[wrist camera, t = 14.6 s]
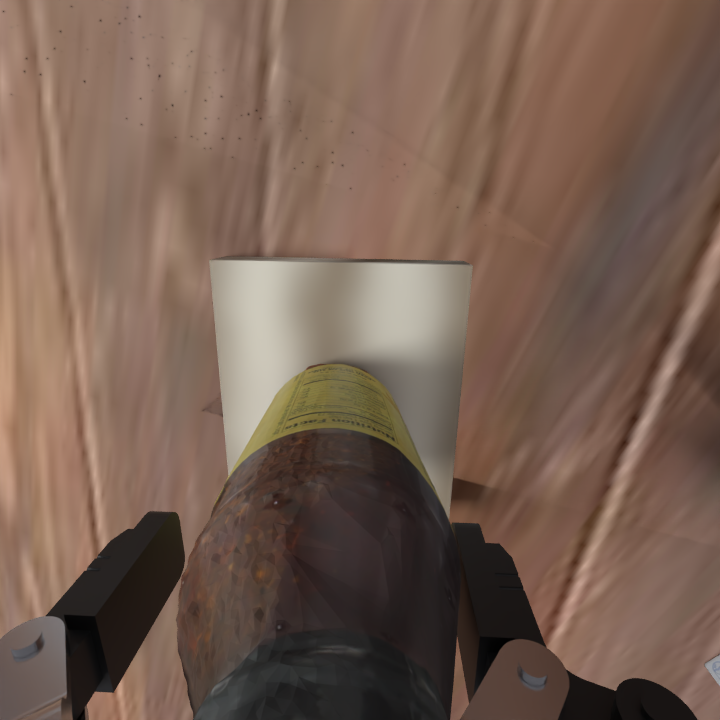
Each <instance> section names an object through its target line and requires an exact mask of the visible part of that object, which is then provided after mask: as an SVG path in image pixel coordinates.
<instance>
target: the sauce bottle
mask: <svg viewBox="0 0 720 720" xmlns="http://www.w3.org/2000/svg"><path fill="white" fill-rule="evenodd" d="M460 587H461V564H460V557H459V552H458V547H457V542H456V538H455V535H454V532H453V529H452V526H451V524H450V522H449V519H448V517H447V514H446V512H445V510H444V507H443V505H442V503H441V501H440V499H439V497H438V495H437V492H436V490H435V487H434V486H433V484H432V482H431V479H430V477H429V475H428V473H427V471H426V469H425V467H424V465H423V463H422V461H421V458H420V456H419V454H418V452H417V450H416V447H415V445H414V442H413V440H412V438H411V436H410V433H409V431H408V429H407V426H406V424H405V422H404V420H403V418H402V416H401V414H400V411H399V409H398V407H397V405H396V403H395V401H394V399H393V397H392V395H391V394H390V392H389V391H388V390H387V388H386V387H385V386H384V385H383V384H382V383H381V382H379V381H378V380H377V379H376V378H374V377H373V376H371V375H370V374H369V373H368V372H367V371H365V370H363V369H361V368H357V367H354V366H350V365H348V364H347V365H344V364H335V363H334V364H317V365H312V366H309V367H307V368H306V370H304V371H303V372H301V373H299V374H298V375H296V376H294V377H293V378H292V379H290V380H289V381H288V382H287V383H286V384H285V385H284V386H283V387H282V388H281V389H280V390H279V391H278V393H277V394H276V395H275V397H274V399H273V401H272V403H271V404H270V406H269V407H268V409H267V411H266V413H265V414H264V416H263V418H262V419H261V421H260V423H259V424H258V426H257V428H256V430H255V431H254V433H253V435H252V437H251V438H250V440H249V442H248V444H247V445H246V447H245V449H244V450H243V452H242V454H241V456H240V457H239V459H238V461H237V463H236V464H235V466H234V468H233V470H232V471H231V473H230V475H229V477H228V478H227V480H226V482H225V485H224V487H223V489H222V491H221V493H220V494H219V496H218V498H217V500H216V502H215V504H214V507H213V511H212V514H211V518H210V520H209V521H208V523H207V524H206V526H205V528H204V530H203V531H202V533H201V534H200V535H199V537H198V538H197V540H196V542H195V547H194V549H193V551H192V552H191V554H190V556H189V559H188V566H187V568H186V570H185V572H184V574H183V575H182V579H181V588H180V592H179V604H178V608H179V609H178V614H177V618H176V622H177V627H178V631H177V642H178V652H179V655H180V658H181V661H182V667H183V672H184V676H185V679H186V681H187V685H188V696H189V700H190V705H191V708H192V710H193V718H194V719H193V720H450V714H451V703H452V692H453V681H454V667H455V654H456V640H457V626H458V613H459V600H460Z"/></svg>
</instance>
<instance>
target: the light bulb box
mask: <svg viewBox="0 0 720 720" xmlns="http://www.w3.org/2000/svg"><path fill="white" fill-rule="evenodd" d="M704 665H705V667H706V668H707V670H708V671H709V672H710V674H711V675H712V676H713V678H714V679H715V680H716V682H717V683H718V685H719V686H720V654H719V655H718V656H716V657H715V658H713V659H712V660H710V661H708V662H707V663H705V664H704Z"/></svg>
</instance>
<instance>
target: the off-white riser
mask: <svg viewBox="0 0 720 720" xmlns="http://www.w3.org/2000/svg"><path fill="white" fill-rule="evenodd" d="M209 263H210V274H211V285H212V296H213V308H214V319H215V330H216V341H217V352H218V364H219V375H220V386H221V397H222V408H223V420H224V431H225V442H226V453H227V464H228V476H229V475H230V473H231V471H232V470H233V468H234V466H235V464H236V463H237V461H238V459H239V457H240V456H241V454H242V452H243V450H244V449H245V447H246V445H247V444H248V442H249V440H250V438H251V437H252V435H253V433H254V431H255V430H256V428H257V426H258V424H259V423H260V421H261V419H262V418H263V416H264V414H265V413H266V411H267V409H268V407H269V406H270V404H271V403H272V401H273V399H274V397H275V395H276V394H277V393H278V391H279V390H280V389H281V388H282V387H283V386H284V385H285V384H286V383H287V382H288V381H289V380H290V379H292V378H293V377H294V376H296V375H298V374H299V373H301V372H303V371H304V370H306V368H307V367H309V366H312V365H317V364H334V363H335V364H344V365H347V364H348V365H350V366H354V367H357V368H361V369H363V370H365V371H367V372H368V373H369V374H370V375H371V376H373V377H374V378H376V379H377V380H378V381H379V382H381V383H382V384H383V385H384V386H385V387H386V388H387V390H388V391H389V392H390V394H391V395H392V397H393V399H394V401H395V403H396V405H397V407H398V409H399V411H400V414H401V416H402V418H403V420H404V422H405V424H406V426H407V429H408V431H409V433H410V436H411V438H412V440H413V442H414V445H415V447H416V450H417V452H418V454H419V456H420V458H421V461H422V463H423V465H424V467H425V469H426V471H427V473H428V475H429V477H430V479H431V482H432V484H433V486H434V487H435V490H436V492H437V495H438V497H439V499H440V501H441V503H442V505H443V507H444V510H445V512H446V514H447V517H448V519H449V513H450V502H451V492H452V481H453V470H454V460H455V449H456V438H457V428H458V417H459V406H460V396H461V385H462V374H463V364H464V353H465V342H466V332H467V321H468V310H469V300H470V289H471V278H472V268H473V265H471V264H469V263H467V262H465V261H443V260H393V259H343V258H293V257H243V256H225V257H221V258H216V259H212V260H209Z"/></svg>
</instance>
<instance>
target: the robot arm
mask: <svg viewBox="0 0 720 720" xmlns="http://www.w3.org/2000/svg"><path fill="white" fill-rule="evenodd" d="M451 526H452V529H453V532H454V535H455V538H456V542H457V547H458V552H459V557H460V564H461V587H460V600H459V613H458V626H457V637H458V642H459V648H460V654H461V659H462V665H463V671H464V677H465V682H466V688H467V694H468V699H469V705H468V707H467V708H466V710H465V712H464V714H463V715H462V717H461V719H460V720H697V718H696V717H695V715H694V714H693V712H692V711H691V710H690V709H689V707H688V706H687V705H686V704H685V703H684V702H683V701H682V700H681V699H680V698H678V697H677V696H676V695H675V694H674V693H672V692H671V691H669V690H668V689H666V688H664V687H663V686H661V685H659V684H657V683H654V682H652V681H649V680H645V679H640V678H632V679H627V680H625V681H623V682H622V683H620V685H619V686H618V687H617V690H616V691H614V690H611V689H609V688H606V687H603V686H600V685H597V684H595V683H592V682H589V681H586V680H584V679H581V678H579V677H577V676H575V675H574V674H572V673H570V672H569V671H568V670H566V669H565V667H564V665H563V664H562V662H561V661H560V660H559V658H558V657H557V656H556V655H555V654H554V653H553V652H551V651H550V650H549V649H547V648H546V645H545V643H544V641H543V638H542V636H541V633H540V630H539V628H538V625H537V622H536V620H535V617H534V614H533V612H532V609H531V607H530V604H529V601H528V599H527V596H526V593H525V591H524V590H523V585H522V583H521V580H520V578H519V577H518V572H517V570H516V567H515V564H514V562H513V559H512V557H511V556H510V555H509V554H508V553H507V552H506V551H505V550H504V548H503V547H502V546H501V545H500V544H494V543H485V541H484V537H483V534H482V531H481V528H480V525H479V524H475V523H452V525H451ZM184 562H185V553H184V546H183V540H182V533H181V527H180V520H179V516H178V514H177V513H176V512H155V511H150V512H148V513H147V514H146V515H145V516H144V517H143V518H142V520H141V521H140V522H139V523H138V524H137V526H136V527H135V528H134V529H127V530H126V531H124V532H123V533H121V534H120V535H119V536H117V537H116V538H114V539H113V540H111V541H110V542H109V543H108V544H107V546H106V547H105V548H104V549H103V550H102V551H101V552H100V554H99V555H98V557H97V559H94V561H93V562H92V563H91V564H90V565H89V566H88V568H87V571H84V572H83V573H82V574H81V576H80V577H79V578H78V579H77V580H76V581H75V583H74V584H73V585H72V586H71V587H70V588H69V590H68V591H67V592H66V593H65V594H64V595H63V596H62V598H61V599H60V600H59V601H58V602H57V603H56V605H55V606H54V607H53V608H52V609H51V610H50V612H49V613H48V614H47V615H46V616H45V617H39V618H35V619H32V620H29V621H27V622H25V623H22V624H21V625H19V626H17V627H15V628H14V629H12V630H11V631H9V632H8V633H7V634H6V635H4V636H3V637H2V638H1V639H0V720H89V716H88V709H87V703H88V702H89V700H90V698H91V697H92V695H93V694H94V692H112V693H114V691H115V689H116V688H117V686H118V684H119V682H120V681H121V679H122V677H123V675H124V674H125V672H126V670H127V669H128V667H129V665H130V663H131V662H132V660H133V658H134V656H135V655H136V653H137V651H138V650H139V648H140V646H141V644H142V643H143V641H144V639H145V637H146V636H147V634H148V632H149V631H150V629H151V627H152V625H153V624H154V622H155V620H156V618H157V617H158V615H159V613H160V612H161V610H162V608H163V606H164V605H165V603H166V601H167V599H168V598H169V596H170V594H171V592H172V591H173V589H174V587H175V586H176V584H177V582H178V580H179V579H180V577H181V574H182V571H183V568H184Z"/></svg>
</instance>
